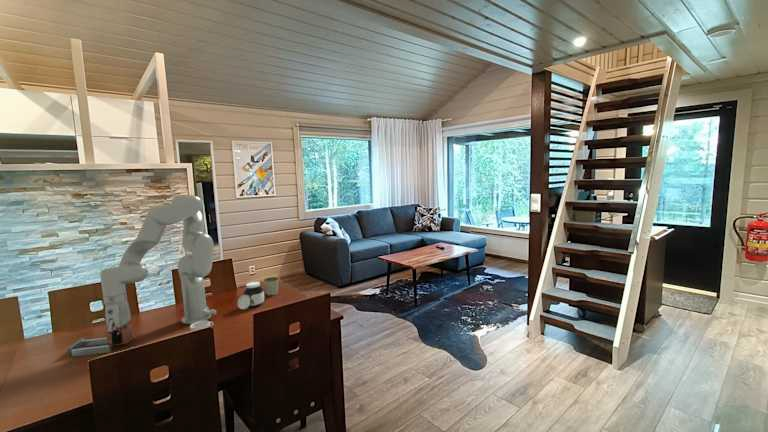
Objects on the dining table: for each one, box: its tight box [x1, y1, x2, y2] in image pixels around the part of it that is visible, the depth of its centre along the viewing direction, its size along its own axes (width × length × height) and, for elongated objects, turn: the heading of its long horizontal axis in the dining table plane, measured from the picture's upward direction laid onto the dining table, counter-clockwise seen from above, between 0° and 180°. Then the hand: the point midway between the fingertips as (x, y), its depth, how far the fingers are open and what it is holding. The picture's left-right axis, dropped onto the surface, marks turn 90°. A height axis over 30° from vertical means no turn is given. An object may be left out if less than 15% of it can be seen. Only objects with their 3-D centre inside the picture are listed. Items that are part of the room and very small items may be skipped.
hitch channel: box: [67, 337, 112, 358], centre depth 145 cm, size 14×9×4 cm
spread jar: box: [237, 281, 265, 310], centre depth 187 cm, size 12×11×12 cm
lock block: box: [105, 323, 134, 346], centre depth 147 cm, size 7×5×6 cm
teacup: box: [189, 320, 214, 332], centre depth 155 cm, size 10×8×5 cm
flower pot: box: [262, 276, 281, 297], centre depth 206 cm, size 9×9×9 cm
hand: (120, 340), depth 147 cm, fingers closed on lock block, 5 cm apart
